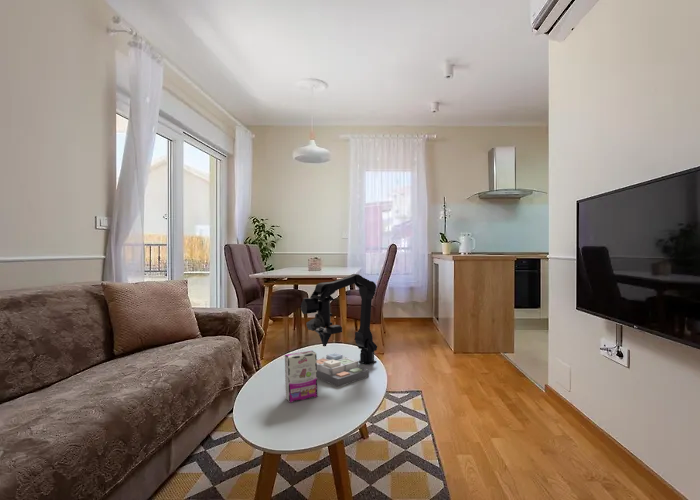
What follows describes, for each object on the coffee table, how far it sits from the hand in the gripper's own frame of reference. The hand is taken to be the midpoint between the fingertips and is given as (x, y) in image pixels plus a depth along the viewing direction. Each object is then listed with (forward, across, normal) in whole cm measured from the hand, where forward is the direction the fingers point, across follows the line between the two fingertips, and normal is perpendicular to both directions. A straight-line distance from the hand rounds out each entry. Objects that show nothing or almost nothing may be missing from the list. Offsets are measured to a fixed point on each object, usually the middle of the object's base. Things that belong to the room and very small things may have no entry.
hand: (324, 346), depth 165 cm
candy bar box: (+12, +16, -24) cm, 31 cm away
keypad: (+12, +6, +2) cm, 14 cm away
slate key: (+7, 0, +5) cm, 9 cm away
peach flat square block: (+8, 0, -2) cm, 9 cm away
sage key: (+8, +7, +5) cm, 13 cm away
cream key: (+7, +7, -2) cm, 10 cm away
